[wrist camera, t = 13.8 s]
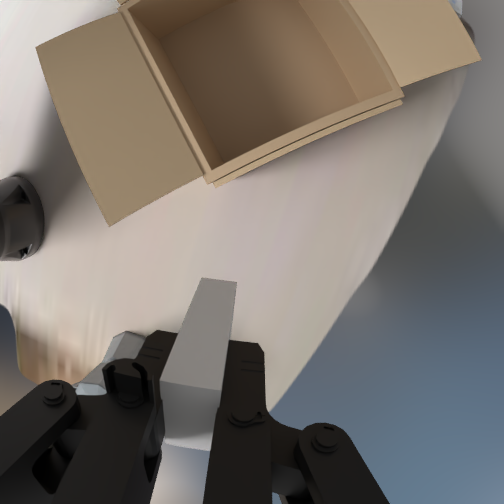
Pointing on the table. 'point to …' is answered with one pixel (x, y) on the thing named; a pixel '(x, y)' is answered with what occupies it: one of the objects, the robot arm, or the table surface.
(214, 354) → the robot arm
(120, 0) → the carton flap
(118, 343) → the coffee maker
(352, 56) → the carton
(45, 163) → the table surface
